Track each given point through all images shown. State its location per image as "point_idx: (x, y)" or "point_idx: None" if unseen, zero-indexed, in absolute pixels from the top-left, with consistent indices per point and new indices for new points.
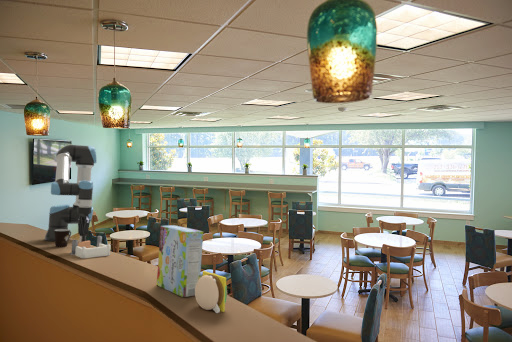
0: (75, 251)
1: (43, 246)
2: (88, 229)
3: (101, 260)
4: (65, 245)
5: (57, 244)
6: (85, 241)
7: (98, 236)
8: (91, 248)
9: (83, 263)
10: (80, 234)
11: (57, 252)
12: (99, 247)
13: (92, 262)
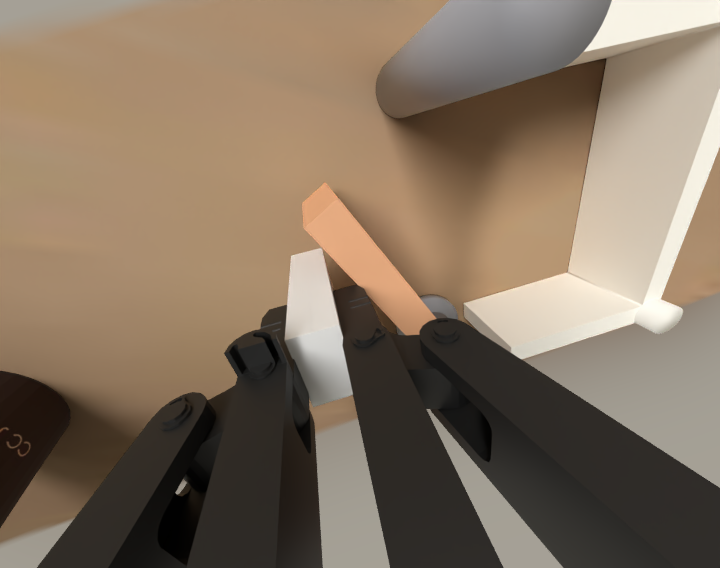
0: (481, 333)
1: (27, 505)
2: (620, 424)
3: (715, 169)
4: (24, 392)
5: (46, 457)
6: (380, 280)
7: (551, 36)
8: (678, 247)
9: (681, 287)
10: (312, 421)
11: (315, 410)
12: (712, 155)
13: (705, 238)
